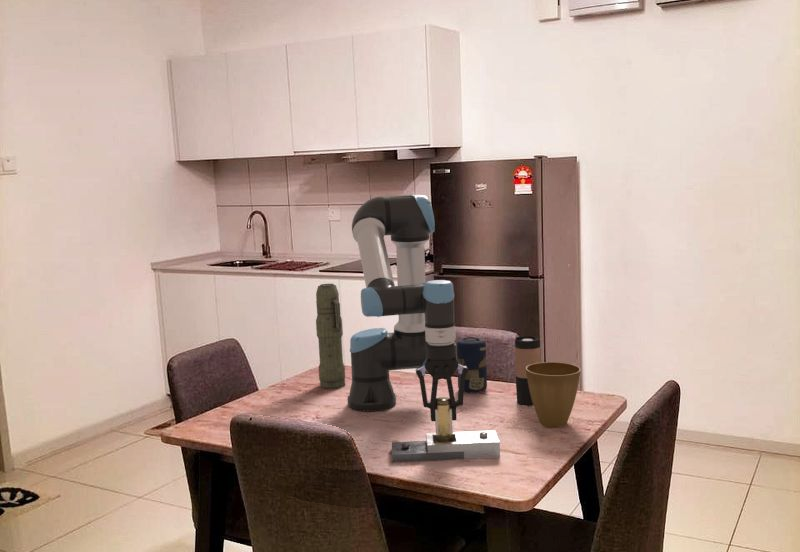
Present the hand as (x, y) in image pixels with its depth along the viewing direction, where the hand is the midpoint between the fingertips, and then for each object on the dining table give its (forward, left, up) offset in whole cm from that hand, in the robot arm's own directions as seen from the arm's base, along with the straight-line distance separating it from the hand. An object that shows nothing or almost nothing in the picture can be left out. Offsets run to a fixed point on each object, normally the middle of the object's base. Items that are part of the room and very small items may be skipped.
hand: (444, 432), depth 200 cm
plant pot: (+9, +36, -6) cm, 38 cm away
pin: (0, 0, -4) cm, 4 cm away
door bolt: (0, 0, -6) cm, 6 cm away
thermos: (-73, +25, -6) cm, 77 cm away
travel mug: (-8, +48, -6) cm, 49 cm away
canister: (-30, +48, -6) cm, 57 cm away
